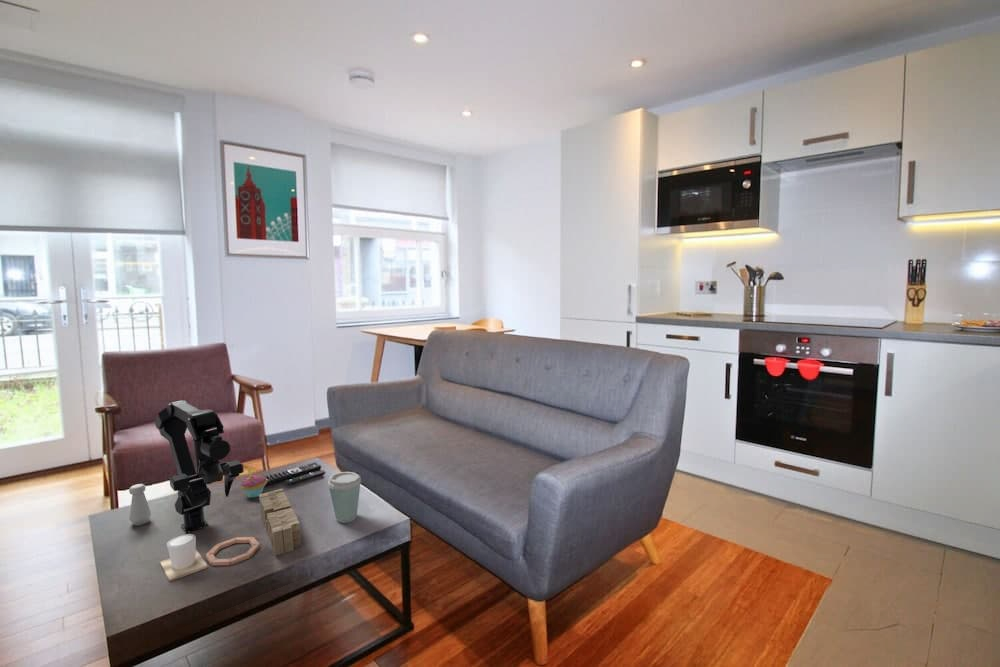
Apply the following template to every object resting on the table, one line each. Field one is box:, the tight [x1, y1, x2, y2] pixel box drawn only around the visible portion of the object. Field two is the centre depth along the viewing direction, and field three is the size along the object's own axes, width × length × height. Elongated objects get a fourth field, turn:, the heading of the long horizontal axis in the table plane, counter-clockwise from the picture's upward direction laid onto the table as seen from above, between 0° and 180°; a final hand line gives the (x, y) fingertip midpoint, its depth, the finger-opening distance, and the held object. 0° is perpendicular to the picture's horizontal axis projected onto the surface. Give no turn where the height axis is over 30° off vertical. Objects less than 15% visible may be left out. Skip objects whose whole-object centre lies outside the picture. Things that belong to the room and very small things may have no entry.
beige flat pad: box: [159, 548, 208, 583], centre depth 138 cm, size 12×9×1 cm
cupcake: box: [240, 463, 268, 499], centre depth 182 cm, size 9×8×12 cm
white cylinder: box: [166, 533, 197, 569], centre depth 138 cm, size 7×7×7 cm
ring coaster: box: [205, 536, 260, 566], centre depth 144 cm, size 13×13×1 cm
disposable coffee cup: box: [327, 471, 362, 524], centre depth 162 cm, size 11×11×15 cm
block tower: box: [258, 488, 302, 557], centre depth 156 cm, size 8×8×29 cm
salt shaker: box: [128, 483, 152, 527], centre depth 162 cm, size 6×6×13 cm
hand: (210, 501), depth 150 cm, fingers open, 9 cm apart
